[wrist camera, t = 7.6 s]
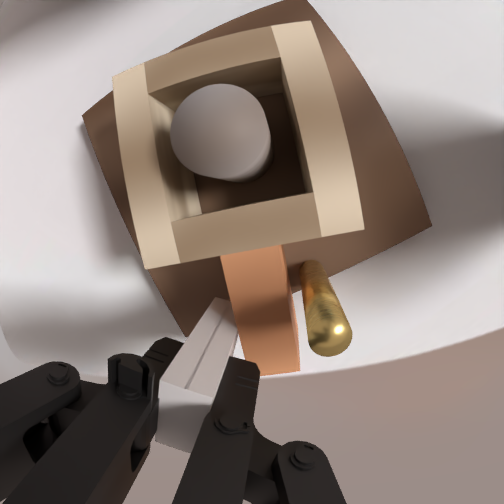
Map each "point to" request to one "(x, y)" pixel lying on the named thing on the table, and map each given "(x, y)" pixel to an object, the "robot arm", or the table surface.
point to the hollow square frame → (250, 215)
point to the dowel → (323, 312)
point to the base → (270, 165)
